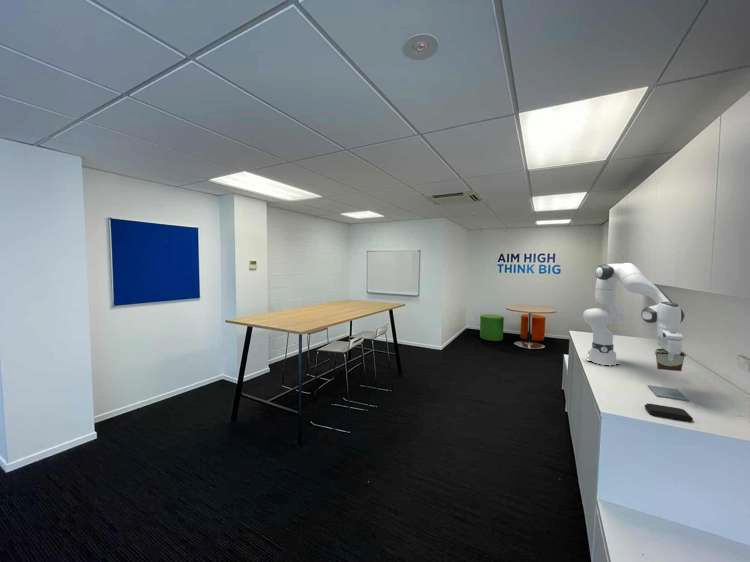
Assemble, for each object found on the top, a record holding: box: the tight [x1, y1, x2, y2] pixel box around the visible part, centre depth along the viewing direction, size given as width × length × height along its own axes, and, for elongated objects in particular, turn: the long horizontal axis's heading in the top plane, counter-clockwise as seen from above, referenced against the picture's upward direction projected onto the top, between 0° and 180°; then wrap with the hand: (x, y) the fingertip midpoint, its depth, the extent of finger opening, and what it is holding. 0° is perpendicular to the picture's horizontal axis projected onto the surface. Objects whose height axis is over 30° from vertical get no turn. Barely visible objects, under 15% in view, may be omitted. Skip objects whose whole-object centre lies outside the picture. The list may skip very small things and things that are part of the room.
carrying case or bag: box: [644, 403, 694, 423], centre depth 136 cm, size 11×3×15 cm
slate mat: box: [647, 384, 690, 402], centre depth 158 cm, size 15×12×1 cm
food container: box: [653, 348, 687, 372], centre depth 158 cm, size 12×6×10 cm, turn 65°
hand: (667, 358), depth 157 cm, fingers closed on food container, 5 cm apart
